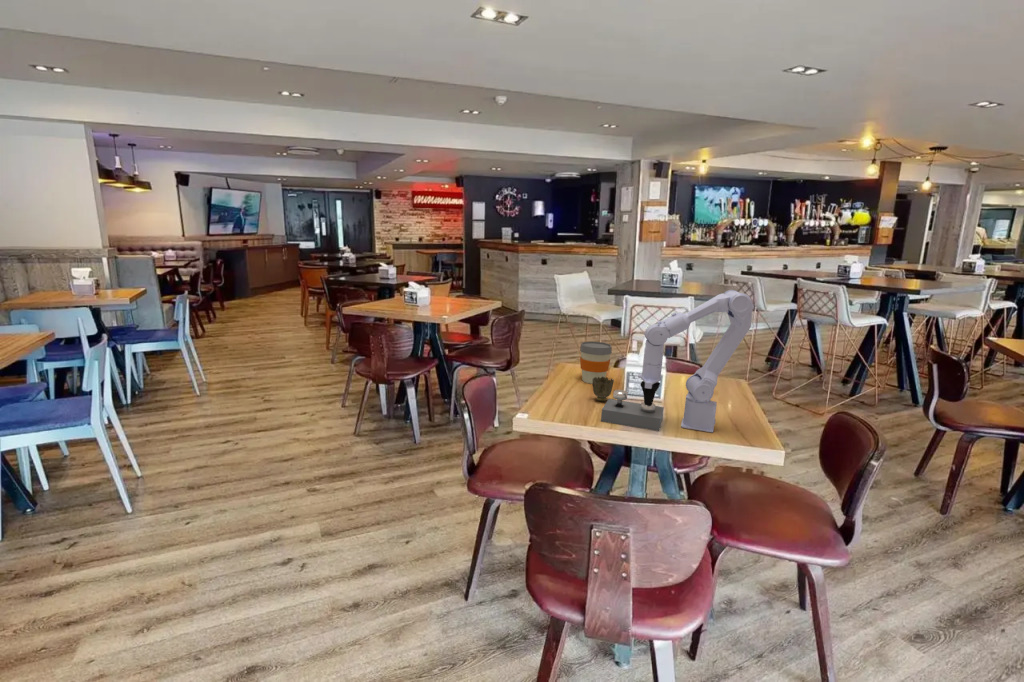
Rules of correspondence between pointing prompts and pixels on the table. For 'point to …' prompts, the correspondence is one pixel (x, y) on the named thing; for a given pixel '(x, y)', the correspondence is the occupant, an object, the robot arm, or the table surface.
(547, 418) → the table surface
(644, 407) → the knob near
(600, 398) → the cup
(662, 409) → the knob mount
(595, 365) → the reusable coffee cup
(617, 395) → the knob outer
